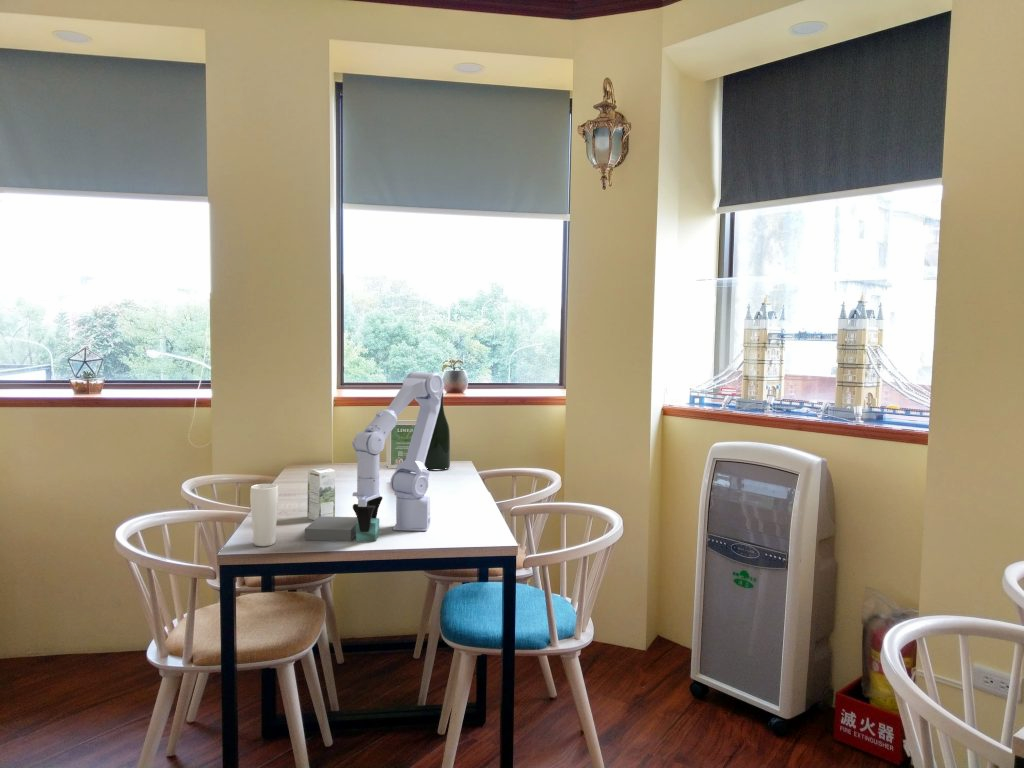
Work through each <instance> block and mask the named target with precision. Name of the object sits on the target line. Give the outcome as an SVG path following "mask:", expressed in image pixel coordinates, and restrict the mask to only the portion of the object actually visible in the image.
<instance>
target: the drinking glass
mask: <svg viewBox="0 0 1024 768" xmlns="http://www.w3.org/2000/svg"><path fill="white" fill-rule="evenodd" d="M249 495H250V497H249V500H250V501H249V502H250V514H251V525H252V534H253V545H255V546H256V547H269V546H273V545H275V543H276V541H277V540H276V539H277V536H276V534H277V522H278V521H277V520H278V511H279V485H278V484H275V483H260V484H258V483H257V484H254V485H251V486H250V492H249Z"/></svg>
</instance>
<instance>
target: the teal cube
mask: <svg viewBox="0 0 1024 768" xmlns="http://www.w3.org/2000/svg"><path fill="white" fill-rule="evenodd" d="M355 538H356V540H355V541H356V542H373V543H374V542H377V540H378V539H379V538H380V517H376V518H371V523H370V529H369V532H360V528H359V523H358V522H357V523H356V535H355Z"/></svg>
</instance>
